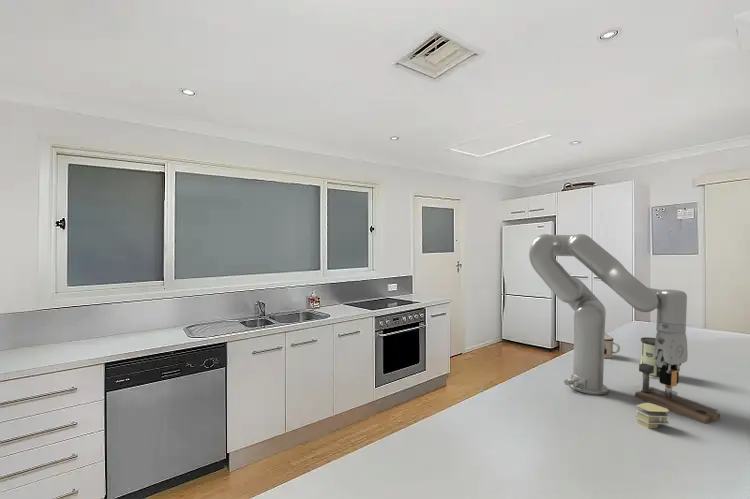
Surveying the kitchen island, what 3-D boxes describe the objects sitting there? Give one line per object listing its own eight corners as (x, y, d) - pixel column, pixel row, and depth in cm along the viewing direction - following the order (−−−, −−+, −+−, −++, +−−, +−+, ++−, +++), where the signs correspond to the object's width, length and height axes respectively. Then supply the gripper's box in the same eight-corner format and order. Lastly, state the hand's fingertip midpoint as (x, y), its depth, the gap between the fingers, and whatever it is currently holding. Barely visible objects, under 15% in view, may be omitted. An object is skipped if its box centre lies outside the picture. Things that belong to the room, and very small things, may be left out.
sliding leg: (670, 401, 119) (671, 371, 119) (660, 397, 122) (661, 368, 122) (679, 399, 121) (680, 369, 121) (669, 395, 124) (670, 366, 124)
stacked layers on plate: (654, 436, 102) (654, 416, 102) (624, 420, 110) (624, 402, 110) (681, 432, 104) (681, 412, 104) (650, 417, 113) (650, 399, 113)
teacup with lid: (586, 354, 175) (587, 330, 175) (595, 351, 180) (596, 327, 180) (615, 361, 165) (615, 335, 165) (623, 358, 171) (624, 333, 170)
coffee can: (671, 374, 150) (672, 340, 150) (671, 381, 142) (673, 345, 142) (639, 368, 156) (641, 335, 156) (639, 375, 148) (640, 340, 148)
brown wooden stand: (705, 423, 109) (706, 387, 109) (633, 396, 128) (634, 365, 128) (720, 418, 112) (721, 383, 112) (648, 392, 131) (649, 362, 131)
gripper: (668, 332, 114) (666, 391, 115) (699, 328, 121) (696, 384, 121) (642, 327, 121) (640, 382, 122) (673, 323, 128) (671, 376, 128)
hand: (668, 382), depth 121 cm, fingers closed on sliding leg, 3 cm apart
